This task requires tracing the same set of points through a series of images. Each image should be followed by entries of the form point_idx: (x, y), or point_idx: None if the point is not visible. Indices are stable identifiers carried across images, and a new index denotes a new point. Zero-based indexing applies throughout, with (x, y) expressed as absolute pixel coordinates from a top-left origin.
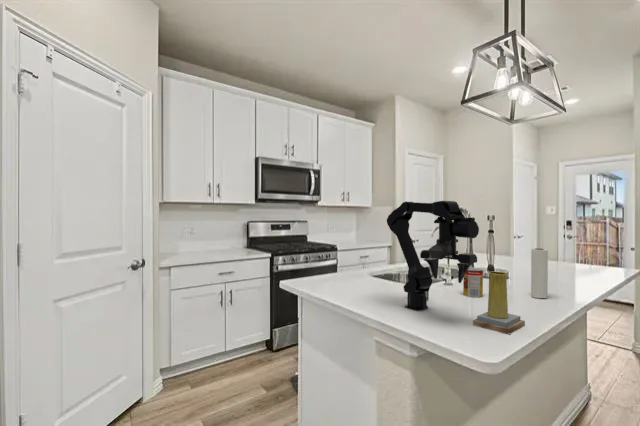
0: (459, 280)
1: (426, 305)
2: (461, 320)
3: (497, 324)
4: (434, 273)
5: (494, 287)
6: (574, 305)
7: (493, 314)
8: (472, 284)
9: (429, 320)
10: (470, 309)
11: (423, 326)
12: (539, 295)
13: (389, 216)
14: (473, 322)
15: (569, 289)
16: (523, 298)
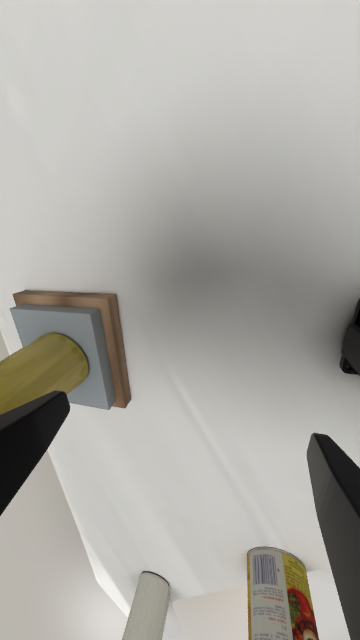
0: (36, 400)
1: (345, 355)
2: (162, 311)
3: (41, 306)
4: (347, 493)
5: None
6: (92, 549)
7: (48, 338)
8: (272, 608)
9: (245, 205)
10: (207, 437)
11: (216, 84)
12: (146, 582)
13: None
14: (109, 296)
15: None
16: (171, 567)
